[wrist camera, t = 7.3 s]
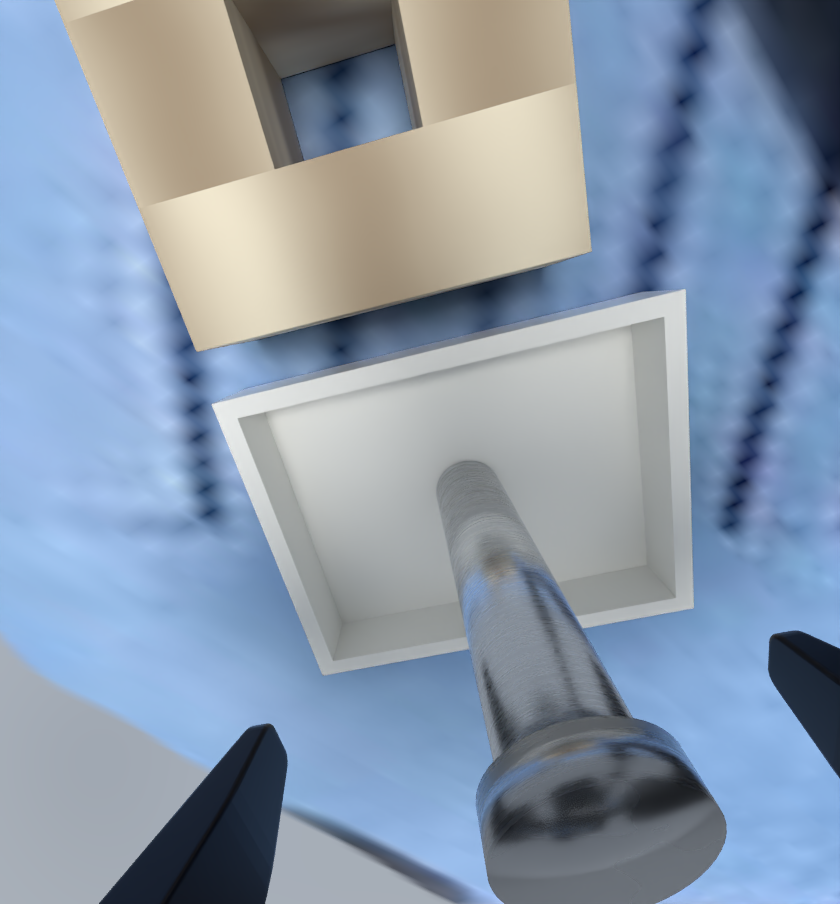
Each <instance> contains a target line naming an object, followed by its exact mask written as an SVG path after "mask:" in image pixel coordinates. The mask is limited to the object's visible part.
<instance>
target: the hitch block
mask: <svg viewBox="0 0 840 904" xmlns="http://www.w3.org/2000/svg"><path fill="white" fill-rule="evenodd" d="M54 1H55V3H56V6H57V8H58V10H59V13H60V15H61V18H62V20H63V23H64V25H65V28H66V30H67V33H68V35H69V38H70V40H71V43H72V45H73V48H74V50H75V52H76V55H77V57H78V60H79V62H80V65H81V67H82V70H83V72H84V75H85V77H86V80H87V82H88V85H89V87H90V90H91V92H92V94H93V97H94V99H95V102H96V104H97V107H98V109H99V112H100V114H101V117H102V119H103V122H104V124H105V127H106V129H107V132H108V134H109V136H110V139H111V141H112V144H113V146H114V149H115V151H116V154H117V156H118V159H119V161H120V164H121V166H122V169H123V171H124V174H125V176H126V178H127V181H128V183H129V186H130V188H131V191H132V193H133V196H134V198H135V201H136V203H137V206H138V208H139V211H140V213H141V216H142V218H143V220H144V223H145V225H146V228H147V230H148V233H149V235H150V238H151V240H152V243H153V245H154V248H155V250H156V253H157V255H158V258H159V260H160V262H161V265H162V267H163V270H164V272H165V275H166V277H167V280H168V282H169V285H170V287H171V290H172V292H173V295H174V297H175V300H176V302H177V304H178V307H179V309H180V312H181V314H182V317H183V319H184V322H185V324H186V327H187V329H188V332H189V334H190V337H191V339H192V342H193V344H194V346H195V349H196V351H197V352H199V351H204V350H209V349H214V348H219V347H224V346H229V345H234V344H239V343H245V342H250V341H255V340H259V339H263V338H267V337H271V336H275V335H279V334H283V333H287V332H290V331H294V330H298V329H302V328H306V327H310V326H314V325H318V324H322V323H326V322H330V321H334V320H338V319H342V318H346V317H350V316H354V315H358V314H361V313H365V312H369V311H373V310H377V309H381V308H385V307H389V306H393V305H397V304H401V303H405V302H409V301H413V300H417V299H421V298H425V297H429V296H432V295H436V294H440V293H444V292H448V291H452V290H456V289H460V288H464V287H468V286H472V285H476V284H480V283H484V282H488V281H492V280H496V279H500V278H503V277H507V276H511V275H515V274H519V273H523V272H527V271H531V270H535V269H539V268H543V267H546V266H549V265H552V264H555V263H558V262H561V261H564V260H567V259H571V258H574V257H577V256H580V255H583V254H586V253H589V252H592V250H591V239H590V228H589V217H588V206H587V195H586V185H585V174H584V163H583V152H582V141H581V130H580V120H579V109H578V98H577V87H576V76H575V65H574V55H573V44H572V33H571V22H570V11H569V0H54ZM393 44H395V46H396V51H397V56H398V61H399V66H400V71H401V76H402V81H403V85H404V90H405V95H406V100H407V105H408V110H409V115H410V120H411V125H412V130H410V131H407V132H403V133H400V134H396V135H393V136H389V137H386V138H382V139H379V140H375V141H372V142H369V143H365V144H362V145H358V146H355V147H351V148H348V149H344V150H341V151H337V152H334V153H330V154H327V155H323V156H320V157H316V158H313V159H309V160H306V161H304V160H303V156H302V153H301V149H300V146H299V142H298V139H297V135H296V132H295V128H294V124H293V121H292V117H291V114H290V110H289V107H288V103H287V99H286V96H285V92H284V89H283V85H282V82H281V79H282V78H285V77H289V76H292V75H295V74H299V73H302V72H305V71H308V70H312V69H315V68H318V67H321V66H325V65H328V64H331V63H335V62H338V61H341V60H344V59H348V58H351V57H354V56H357V55H361V54H364V53H367V52H370V51H374V50H377V49H380V48H384V47H387V46H390V45H393Z"/></svg>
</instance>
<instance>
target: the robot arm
mask: <svg viewBox="0 0 840 904" xmlns="http://www.w3.org/2000/svg"><path fill="white" fill-rule="evenodd" d="M768 671H769V675H770V678H771V680H772V682H773V684H774V686H775V687H776V689H777V690H778V691H779V693H780V694H781V696H782V697H783V699H784V700H785V701H786V703H787V704H788V706H789V707H790V709H791V710H792V711H793V713H794V714H795V716H796V717H797V719H798V720H799V721H800V723H801V724H802V726H803V727H804V729H805V730H806V731H807V733H808V734H809V736H810V737H811V739H812V740H813V741H814V743H815V744H816V746H817V747H818V749H819V750H820V751H821V753H822V754H823V756H824V757H825V759H826V760H827V761H828V763H829V764H830V766H831V767H832V769H833V770H834V771H835V773H836V774H837V775H838V777H839V778H840V648H837V647H835V646H833V645H831V644H828V643H826V642H824V641H822V640H820V639H817V638H815V637H813V636H811V635H809V634H806V633H804V632H801V631H788V632H782V633H777V634H773V635H772V636H771V638H770V641H769V661H768ZM287 762H288V761H287V754H286V751H285V748H284V746H283V744H282V742H281V740H280V738H279V736H278V734H277V732H276V730H275V728H274V726H273V725H271V724H268V723H267V724H261V725H256V726H252V727H250V728H248V729H247V730H246V731H245V732H244V733H243V734H242V735H241V737H240V738H239V739H238V740H237V741H236V743H235V744H234V745H233V746H232V747H231V748H230V750H229V751H228V752H227V753H226V754H225V755H224V757H223V758H222V759H221V760H220V761H219V763H218V764H217V765H216V766H215V767H214V768H213V770H212V771H211V772H210V773H209V774H208V776H207V777H206V778H205V779H204V780H203V781H202V783H201V784H200V785H199V786H198V787H197V789H196V790H195V791H194V792H193V793H192V794H191V796H190V797H189V798H188V799H187V800H186V802H185V803H184V804H183V805H182V806H181V808H180V809H179V810H178V811H177V812H176V813H175V814H174V816H173V817H172V818H171V819H170V820H169V822H168V823H167V824H166V825H165V826H164V827H163V829H162V830H161V831H160V832H159V833H158V834H157V836H156V837H155V838H154V839H153V840H152V842H151V843H150V844H149V845H148V846H147V848H146V849H145V850H144V851H143V852H142V853H141V855H140V856H139V857H138V858H137V859H136V860H135V862H134V863H133V864H132V865H131V866H130V867H129V869H128V870H127V871H126V872H125V873H124V875H123V876H122V877H121V878H120V879H119V881H118V882H117V883H116V884H115V885H114V886H113V888H112V889H111V890H110V891H109V892H108V893H107V895H106V896H105V897H104V898H103V900H101V902H100V903H99V904H265V901H266V897H267V893H268V888H269V883H270V878H271V874H272V868H273V862H274V856H275V850H276V842H277V836H278V829H279V822H280V815H281V808H282V801H283V794H284V787H285V780H286V773H287Z"/></svg>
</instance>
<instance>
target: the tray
mask: <svg viewBox="0 0 840 904" xmlns="http://www.w3.org/2000/svg"><path fill="white" fill-rule="evenodd" d="M212 407H213V409H214V412H215V414H216V416H217V419H218V421H219V424H220V426H221V429H222V431H223V434H224V436H225V438H226V441H227V443H228V446H229V448H230V451H231V453H232V455H233V458H234V460H235V463H236V465H237V468H238V470H239V473H240V475H241V477H242V480H243V482H244V485H245V487H246V490H247V492H248V495H249V497H250V499H251V502H252V504H253V507H254V509H255V512H256V514H257V516H258V519H259V521H260V524H261V526H262V529H263V531H264V534H265V536H266V538H267V541H268V543H269V546H270V548H271V551H272V553H273V555H274V558H275V560H276V563H277V565H278V568H279V570H280V573H281V575H282V577H283V580H284V582H285V585H286V587H287V590H288V592H289V595H290V597H291V599H292V602H293V604H294V607H295V609H296V612H297V614H298V616H299V619H300V621H301V624H302V626H303V629H304V631H305V634H306V636H307V638H308V641H309V643H310V646H311V648H312V651H313V653H314V655H315V658H316V660H317V663H318V665H319V668H320V670H321V673H322V675H323V676H324V675H330V674H335V673H341V672H346V671H352V670H357V669H363V668H368V667H374V666H379V665H385V664H390V663H396V662H401V661H407V660H412V659H418V658H423V657H429V656H434V655H440V654H445V653H451V652H456V651H462V650H467V649H469V645H468V641H467V636H466V631H465V627H464V622H463V617H462V613H461V608H460V603H459V599H458V594H457V589H456V585H455V580H454V575H453V571H452V566H451V561H450V557H449V552H448V547H447V543H446V538H445V533H444V529H443V524H442V519H441V515H440V510H439V505H438V501H437V496H436V487H437V483H438V481H439V478H440V477H441V475H442V474H443V473H444V472H445V471H446V470H447V469H448V468H449V467H451V466H452V465H454V464H456V463H459V462H463V461H478V462H481V463H484V464H486V465H487V466H489V467H490V468H491V469H492V470H493V471H494V472H495V473H496V475H497V477H498V479H499V480H500V482H501V484H502V486H503V487H504V489H505V491H506V493H507V495H508V496H509V498H510V500H511V502H512V503H513V505H514V507H515V509H516V511H517V512H518V514H519V516H520V518H521V519H522V521H523V523H524V525H525V527H526V528H527V530H528V532H529V534H530V535H531V537H532V539H533V541H534V543H535V544H536V546H537V548H538V550H539V552H540V553H541V555H542V557H543V559H544V560H545V562H546V564H547V566H548V568H549V569H550V571H551V573H552V575H553V576H554V578H555V580H556V582H557V584H558V585H559V587H560V589H561V591H562V592H563V594H564V596H565V598H566V600H567V601H568V603H569V605H570V607H571V609H572V610H573V612H574V614H575V616H576V617H577V619H578V621H579V623H580V625H581V626H582V628H588V627H594V626H599V625H605V624H610V623H616V622H621V621H627V620H632V619H638V618H643V617H648V616H654V615H659V614H665V613H670V612H676V611H681V610H687V609H692V608H694V595H693V556H692V517H691V478H690V439H689V399H688V360H687V321H686V289H680V290H665V291H651V292H639V293H635V294H631V295H627V296H623V297H619V298H615V299H611V300H607V301H603V302H598V303H594V304H590V305H586V306H582V307H578V308H574V309H570V310H566V311H562V312H557V313H553V314H549V315H545V316H541V317H537V318H533V319H529V320H525V321H521V322H516V323H512V324H508V325H504V326H500V327H496V328H492V329H488V330H484V331H480V332H476V333H471V334H467V335H463V336H459V337H455V338H451V339H447V340H443V341H439V342H435V343H430V344H426V345H422V346H418V347H414V348H410V349H406V350H402V351H398V352H394V353H389V354H385V355H381V356H377V357H373V358H369V359H365V360H361V361H357V362H353V363H349V364H344V365H340V366H336V367H332V368H328V369H324V370H320V371H316V372H312V373H308V374H303V375H299V376H295V377H291V378H287V379H283V380H279V381H275V382H271V383H267V384H262V385H258V386H254V387H250V388H246V389H243V390H241V391H239V392H237V393H235V394H232V395H230V396H228V397H226V398H224V399H222V400H219V401H217V402H215V403H213V404H212Z"/></svg>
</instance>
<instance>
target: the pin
mask: <svg viewBox="0 0 840 904" xmlns="http://www.w3.org/2000/svg"><path fill="white" fill-rule="evenodd" d="M436 496H437V501H438V505H439V510H440V515H441V519H442V524H443V529H444V533H445V538H446V543H447V547H448V552H449V557H450V561H451V566H452V571H453V575H454V580H455V585H456V589H457V594H458V599H459V603H460V608H461V613H462V617H463V622H464V627H465V631H466V636H467V641H468V645H469V650H470V655H471V659H472V664H473V669H474V673H475V678H476V683H477V687H478V692H479V697H480V701H481V706H482V711H483V715H484V720H485V725H486V729H487V734H488V739H489V743H490V748H491V753H492V757H493V763H492V764H491V765H490V766H489V767H488V769H487V770H486V772H485V774H484V775H483V777H482V779H481V781H480V783H479V786H478V789H477V794H476V809H477V815H478V821H479V827H480V833H481V839H482V846H483V852H484V858H485V864H486V870H487V876H488V881H489V884H490V887H491V889H492V891H493V892H494V894H495V895H496V896H497V898H499V899H500V900H501V901H502V902H503V903H504V904H656V903H658V902H660V901H662V900H664V899H667V898H668V897H670V896H672V895H674V894H676V893H678V892H679V891H681V890H682V889H684V888H685V887H687V886H688V885H690V884H691V883H693V882H694V881H695V880H696V879H698V878H699V877H700V876H701V875H702V874H703V873H704V872H705V871H706V870H707V869H708V868H709V867H710V866H711V865H712V864H713V862H714V861H715V860H716V858H717V857H718V855H719V853H720V852H721V850H722V847H723V845H724V843H725V838H726V833H727V830H726V821H725V818H724V815H723V813H722V811H721V810H720V808H719V806H718V805H717V803H716V801H715V800H714V798H713V797H712V795H711V794H710V792H709V790H708V789H707V787H706V786H705V784H704V782H703V781H702V779H701V778H700V776H699V775H698V773H697V771H696V770H695V768H694V767H693V765H692V763H691V762H690V760H689V759H688V757H687V756H686V754H685V752H684V751H683V749H682V748H681V746H680V744H679V743H678V742H677V741H676V740H675V738H674V737H673V736H672V735H670V734H669V733H668V732H666V731H665V730H664V729H662V728H660V727H658V726H656V725H654V724H652V723H649V722H646V721H643V720H639V719H635V718H633V717H632V715H631V714H630V712H629V710H628V708H627V706H626V705H625V703H624V701H623V699H622V698H621V696H620V694H619V692H618V690H617V689H616V687H615V685H614V683H613V682H612V680H611V678H610V676H609V674H608V673H607V671H606V669H605V667H604V666H603V664H602V662H601V660H600V658H599V657H598V655H597V653H596V651H595V649H594V648H593V646H592V644H591V642H590V641H589V639H588V637H587V635H586V633H585V632H584V630H583V628H582V626H581V625H580V623H579V621H578V619H577V617H576V616H575V614H574V612H573V610H572V609H571V607H570V605H569V603H568V601H567V600H566V598H565V596H564V594H563V592H562V591H561V589H560V587H559V585H558V584H557V582H556V580H555V578H554V576H553V575H552V573H551V571H550V569H549V568H548V566H547V564H546V562H545V560H544V559H543V557H542V555H541V553H540V552H539V550H538V548H537V546H536V544H535V543H534V541H533V539H532V537H531V535H530V534H529V532H528V530H527V528H526V527H525V525H524V523H523V521H522V519H521V518H520V516H519V514H518V512H517V511H516V509H515V507H514V505H513V503H512V502H511V500H510V498H509V496H508V495H507V493H506V491H505V489H504V487H503V486H502V484H501V482H500V480H499V479H498V477H497V475H496V473H495V472H494V471H493V470H492V469H491V468H490V467H489V466H487V465H486V464H484V463H481V462H478V461H463V462H459V463H456V464H454V465H452V466H451V467H449V468H448V469H447V470H446V471H445V472H444V473H443V474H442V475H441V477H440V478H439V481H438V483H437V487H436Z"/></svg>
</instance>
